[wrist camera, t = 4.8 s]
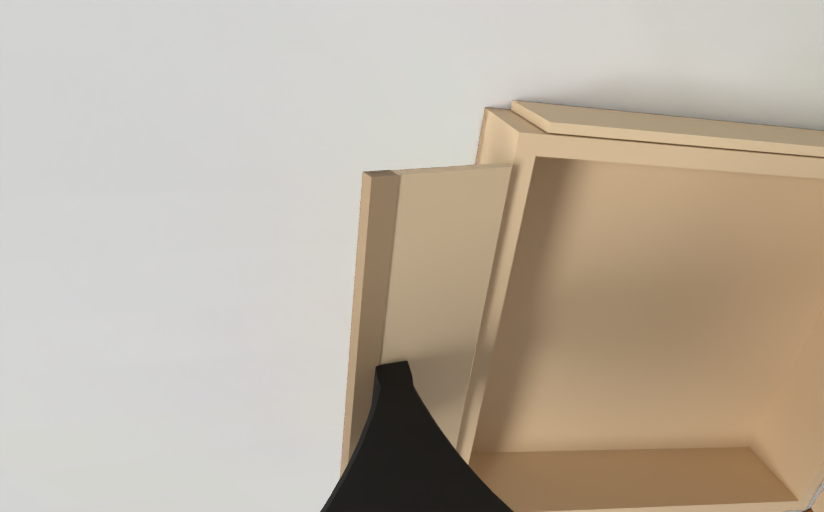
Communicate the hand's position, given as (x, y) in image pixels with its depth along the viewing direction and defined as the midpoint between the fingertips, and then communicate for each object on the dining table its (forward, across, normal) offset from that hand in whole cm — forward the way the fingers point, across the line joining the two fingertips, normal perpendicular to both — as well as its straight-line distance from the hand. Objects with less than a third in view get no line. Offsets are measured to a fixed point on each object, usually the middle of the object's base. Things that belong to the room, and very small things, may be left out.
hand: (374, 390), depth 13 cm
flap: (+1, -3, 0) cm, 3 cm away
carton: (+4, -10, 0) cm, 11 cm away
